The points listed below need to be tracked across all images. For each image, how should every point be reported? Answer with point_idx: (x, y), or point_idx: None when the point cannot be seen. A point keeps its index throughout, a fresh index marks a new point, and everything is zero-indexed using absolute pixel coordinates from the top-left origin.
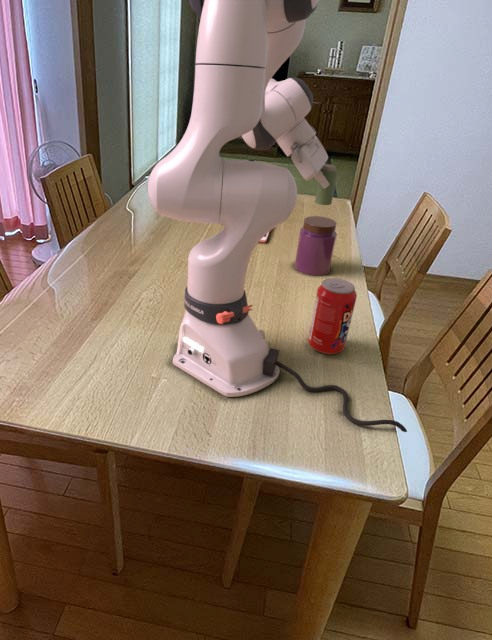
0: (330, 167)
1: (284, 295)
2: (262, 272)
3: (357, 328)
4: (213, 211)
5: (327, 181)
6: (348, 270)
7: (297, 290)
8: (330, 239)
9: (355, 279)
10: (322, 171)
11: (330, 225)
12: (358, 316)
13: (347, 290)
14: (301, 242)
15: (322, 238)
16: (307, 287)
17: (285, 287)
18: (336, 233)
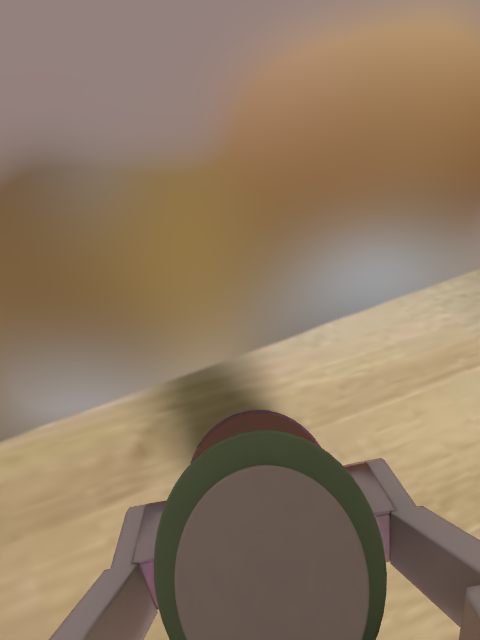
0: (348, 524)
1: (473, 481)
2: (396, 620)
3: (467, 294)
4: None
5: (399, 482)
6: (213, 385)
7: (419, 461)
8: (291, 419)
9: (255, 356)
10: (377, 629)
11: (279, 429)
12: (421, 304)
13: None
14: None
15: (318, 444)
16: (382, 443)
17: (429, 499)
18: (230, 416)
